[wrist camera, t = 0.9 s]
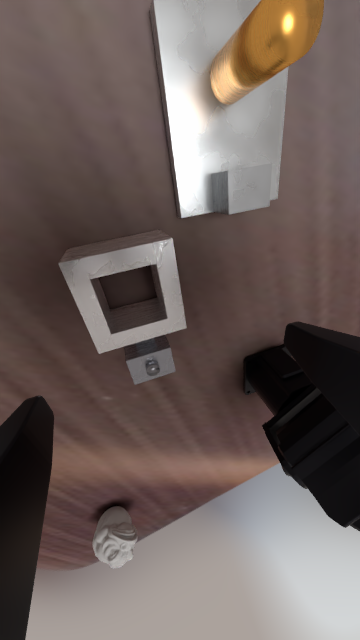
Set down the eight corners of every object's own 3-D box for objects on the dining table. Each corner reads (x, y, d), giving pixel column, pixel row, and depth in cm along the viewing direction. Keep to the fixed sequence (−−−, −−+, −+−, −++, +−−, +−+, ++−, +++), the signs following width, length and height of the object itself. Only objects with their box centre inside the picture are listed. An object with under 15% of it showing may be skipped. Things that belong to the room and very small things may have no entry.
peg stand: (269, 198, 18) (339, 200, 13) (177, 216, 17) (212, 228, 12) (282, 5, 13) (409, -128, 8) (149, 10, 12) (188, -149, 6)
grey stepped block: (169, 355, 23) (177, 375, 21) (132, 367, 23) (135, 389, 20) (159, 311, 20) (167, 328, 18) (116, 323, 20) (117, 342, 17)
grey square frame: (173, 306, 21) (186, 327, 17) (99, 326, 19) (98, 353, 16) (159, 229, 17) (172, 238, 14) (67, 248, 16) (58, 263, 12)
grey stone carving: (142, 496, 36) (150, 553, 30) (117, 519, 38) (119, 578, 32) (110, 493, 33) (111, 557, 27) (84, 519, 34) (80, 585, 29)
